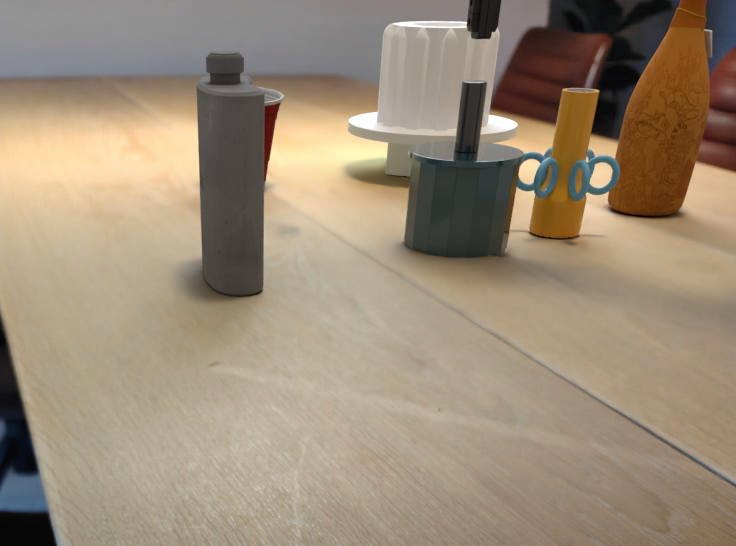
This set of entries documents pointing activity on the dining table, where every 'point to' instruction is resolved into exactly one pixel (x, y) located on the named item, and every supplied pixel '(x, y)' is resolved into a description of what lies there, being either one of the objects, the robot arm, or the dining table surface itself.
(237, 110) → the flask
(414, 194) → the pot
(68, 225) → the dining table surface
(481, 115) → the lid
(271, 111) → the plastic cup
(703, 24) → the wine bottle
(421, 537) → the dining table surface
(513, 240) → the dining table surface
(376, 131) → the flanged gear
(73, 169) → the dining table surface
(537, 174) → the cylinder
